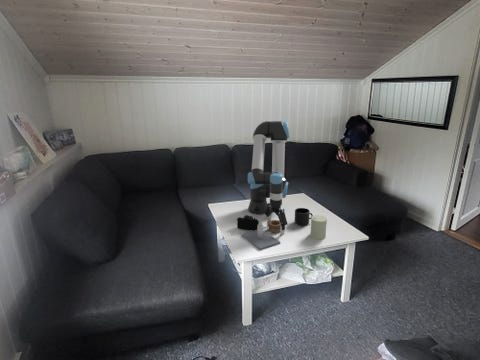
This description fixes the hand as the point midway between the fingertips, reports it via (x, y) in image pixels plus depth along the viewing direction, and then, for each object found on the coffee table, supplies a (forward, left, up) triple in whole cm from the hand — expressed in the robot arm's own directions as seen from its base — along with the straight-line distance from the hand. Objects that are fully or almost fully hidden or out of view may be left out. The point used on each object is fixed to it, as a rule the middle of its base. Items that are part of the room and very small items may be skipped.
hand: (275, 230), depth 186 cm
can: (+20, +17, 0) cm, 26 cm away
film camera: (-13, -12, 0) cm, 17 cm away
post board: (+5, -15, 0) cm, 16 cm away
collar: (0, 0, 0) cm, 0 cm away
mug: (+2, +22, 0) cm, 22 cm away
